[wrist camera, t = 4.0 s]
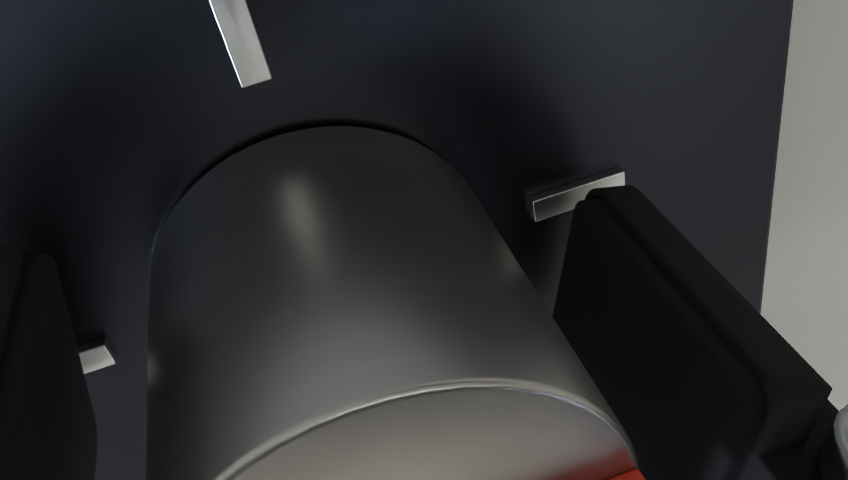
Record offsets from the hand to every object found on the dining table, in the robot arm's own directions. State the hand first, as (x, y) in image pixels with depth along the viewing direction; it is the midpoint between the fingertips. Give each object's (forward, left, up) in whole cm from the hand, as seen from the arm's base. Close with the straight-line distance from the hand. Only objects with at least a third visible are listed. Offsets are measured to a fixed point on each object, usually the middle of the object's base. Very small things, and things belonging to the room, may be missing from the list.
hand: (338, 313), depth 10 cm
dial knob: (0, 0, -1) cm, 1 cm away
